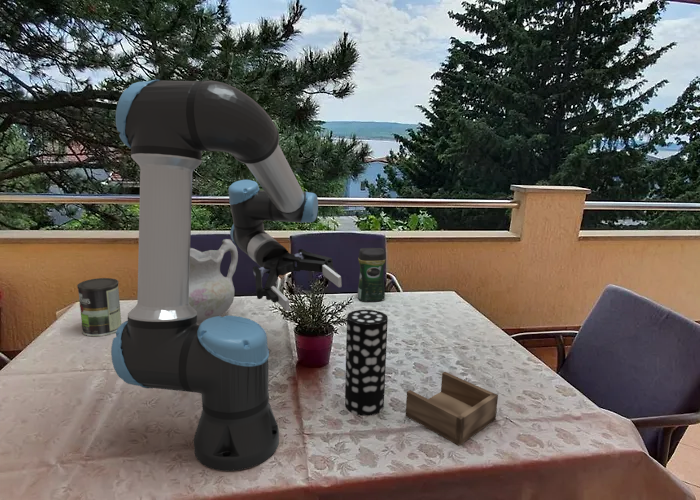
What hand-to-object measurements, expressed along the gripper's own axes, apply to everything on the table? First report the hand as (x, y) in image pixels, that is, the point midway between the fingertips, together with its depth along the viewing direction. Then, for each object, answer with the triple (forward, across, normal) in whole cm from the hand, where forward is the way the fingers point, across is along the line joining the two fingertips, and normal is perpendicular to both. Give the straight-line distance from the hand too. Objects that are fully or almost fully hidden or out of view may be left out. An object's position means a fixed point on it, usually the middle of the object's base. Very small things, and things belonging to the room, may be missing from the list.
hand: (314, 293), depth 103 cm
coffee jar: (-33, -42, -42) cm, 68 cm away
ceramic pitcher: (-46, +12, -31) cm, 57 cm away
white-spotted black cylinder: (+18, 0, -19) cm, 26 cm away
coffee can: (-56, +39, -27) cm, 73 cm away
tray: (+31, -11, -19) cm, 38 cm away
